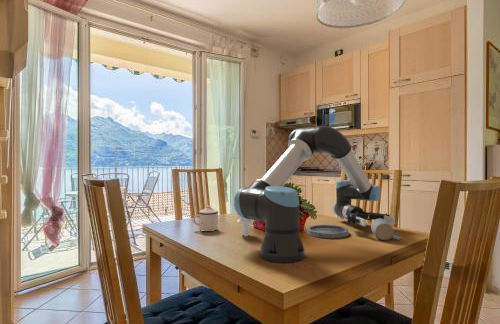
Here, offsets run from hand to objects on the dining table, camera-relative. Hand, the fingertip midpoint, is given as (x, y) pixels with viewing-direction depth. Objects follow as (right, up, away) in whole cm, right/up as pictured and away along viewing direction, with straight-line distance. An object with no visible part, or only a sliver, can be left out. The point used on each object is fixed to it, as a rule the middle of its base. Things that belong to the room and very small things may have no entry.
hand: (379, 222), depth 125 cm
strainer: (-56, -7, +6) cm, 57 cm away
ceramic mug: (+1, -7, -3) cm, 7 cm away
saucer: (-20, -7, +8) cm, 22 cm away
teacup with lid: (-75, -8, +17) cm, 78 cm away
